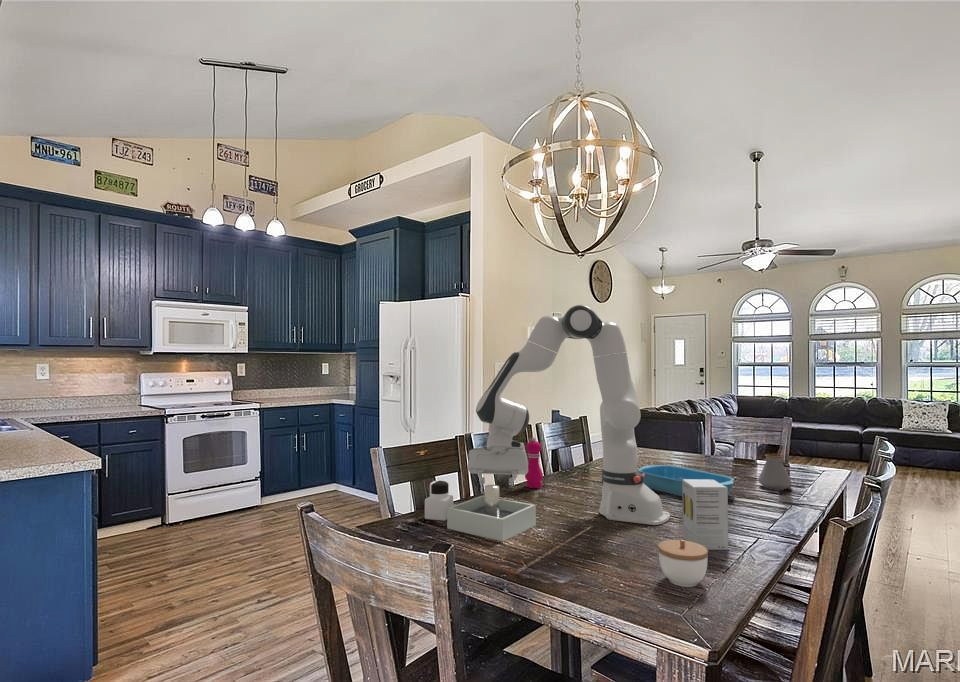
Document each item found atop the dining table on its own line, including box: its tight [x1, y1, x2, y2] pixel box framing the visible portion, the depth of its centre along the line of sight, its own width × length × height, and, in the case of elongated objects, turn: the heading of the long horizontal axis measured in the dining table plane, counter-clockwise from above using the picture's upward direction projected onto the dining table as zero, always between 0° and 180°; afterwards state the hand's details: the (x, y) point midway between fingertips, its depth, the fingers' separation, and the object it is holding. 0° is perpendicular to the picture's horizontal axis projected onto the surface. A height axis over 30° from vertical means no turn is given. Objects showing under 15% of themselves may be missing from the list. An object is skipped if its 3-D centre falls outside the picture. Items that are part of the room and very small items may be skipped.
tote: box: [446, 495, 537, 542], centre depth 160 cm, size 20×18×7 cm
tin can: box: [484, 484, 500, 517], centre depth 160 cm, size 4×4×9 cm
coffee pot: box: [757, 445, 792, 491], centre depth 214 cm, size 21×12×15 cm, turn 139°
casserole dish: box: [638, 464, 735, 498], centre depth 206 cm, size 37×22×7 cm, turn 35°
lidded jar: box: [657, 539, 709, 588], centre depth 122 cm, size 11×11×9 cm
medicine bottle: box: [424, 480, 454, 522], centre depth 171 cm, size 7×7×12 cm
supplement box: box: [682, 479, 729, 551], centre depth 147 cm, size 10×9×17 cm
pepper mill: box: [524, 436, 544, 489], centre depth 213 cm, size 7×7×20 cm
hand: (496, 483), depth 172 cm, fingers open, 8 cm apart
